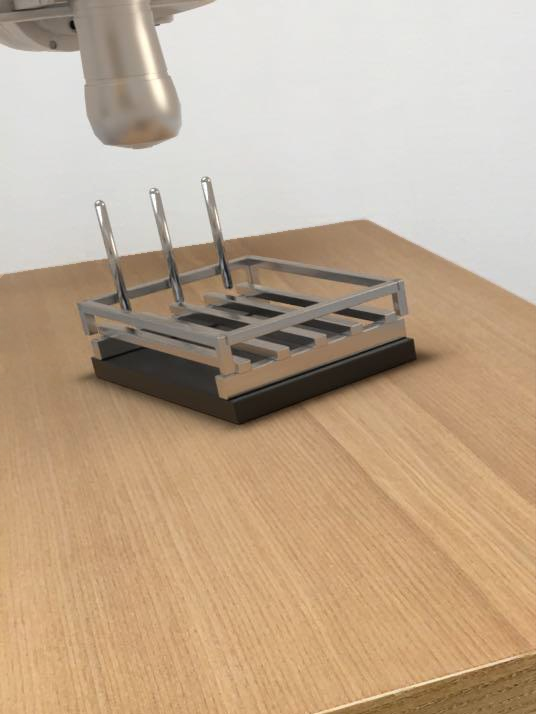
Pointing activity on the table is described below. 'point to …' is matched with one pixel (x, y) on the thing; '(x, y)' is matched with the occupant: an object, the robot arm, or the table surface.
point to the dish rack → (242, 331)
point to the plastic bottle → (125, 74)
